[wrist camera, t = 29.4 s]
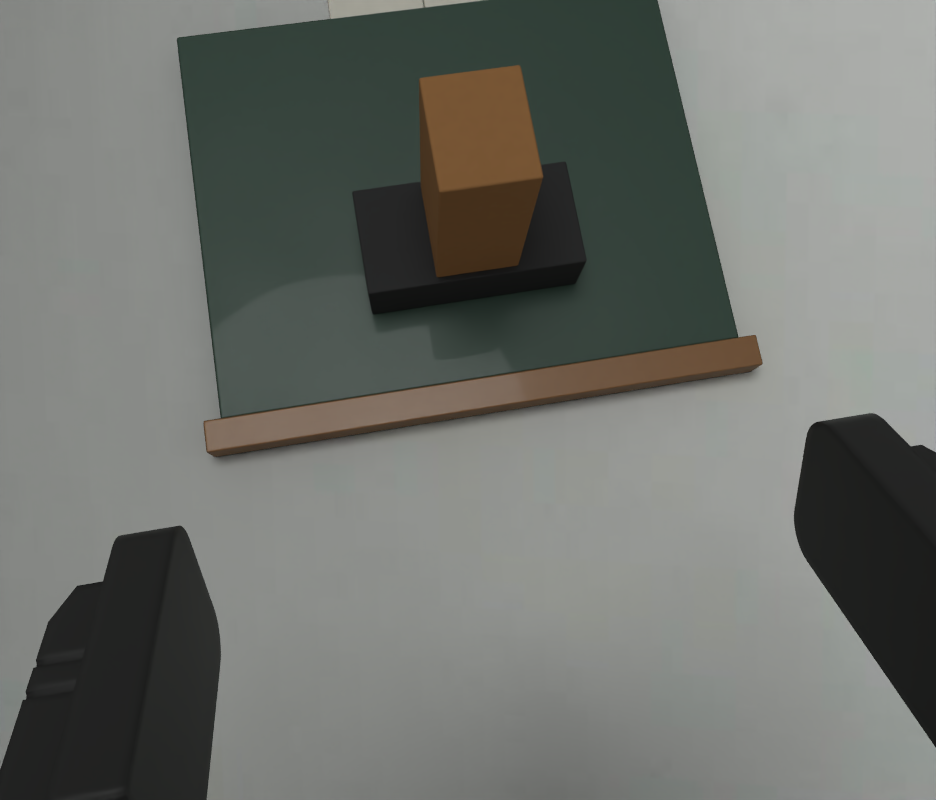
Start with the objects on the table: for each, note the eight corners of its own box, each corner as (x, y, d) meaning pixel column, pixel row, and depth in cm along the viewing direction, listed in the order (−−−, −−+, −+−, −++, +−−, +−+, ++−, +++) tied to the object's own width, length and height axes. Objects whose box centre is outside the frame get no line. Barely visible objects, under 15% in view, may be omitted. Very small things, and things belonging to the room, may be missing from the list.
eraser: (372, 315, 33) (350, 211, 24) (356, 218, 34) (330, 82, 25) (576, 284, 34) (631, 171, 25) (556, 190, 35) (603, 46, 25)
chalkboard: (214, 457, 33) (206, 452, 32) (168, 53, 36) (159, 35, 35) (752, 371, 35) (763, 364, 33) (660, -8, 38) (667, -27, 37)
